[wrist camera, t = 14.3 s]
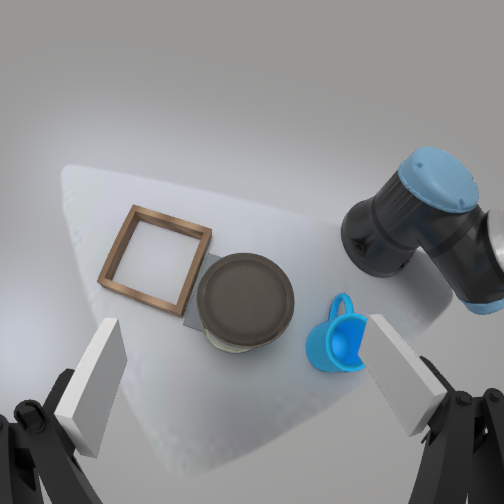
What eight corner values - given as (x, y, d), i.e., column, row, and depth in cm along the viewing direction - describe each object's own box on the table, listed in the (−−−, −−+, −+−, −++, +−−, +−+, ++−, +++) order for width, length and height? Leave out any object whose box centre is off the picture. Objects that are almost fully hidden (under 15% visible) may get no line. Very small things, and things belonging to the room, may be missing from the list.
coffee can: (187, 308, 42) (178, 282, 30) (244, 274, 46) (258, 236, 33) (225, 367, 40) (232, 367, 27) (281, 329, 43) (313, 312, 30)
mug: (350, 371, 43) (377, 370, 35) (304, 371, 42) (323, 371, 34) (352, 301, 47) (376, 288, 40) (307, 297, 46) (326, 283, 39)
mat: (262, 271, 47) (262, 270, 46) (240, 343, 42) (241, 343, 42) (208, 254, 47) (208, 253, 46) (183, 324, 42) (183, 324, 41)
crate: (211, 237, 48) (211, 229, 45) (182, 317, 42) (180, 314, 40) (136, 213, 48) (133, 204, 45) (102, 286, 42) (96, 281, 39)
